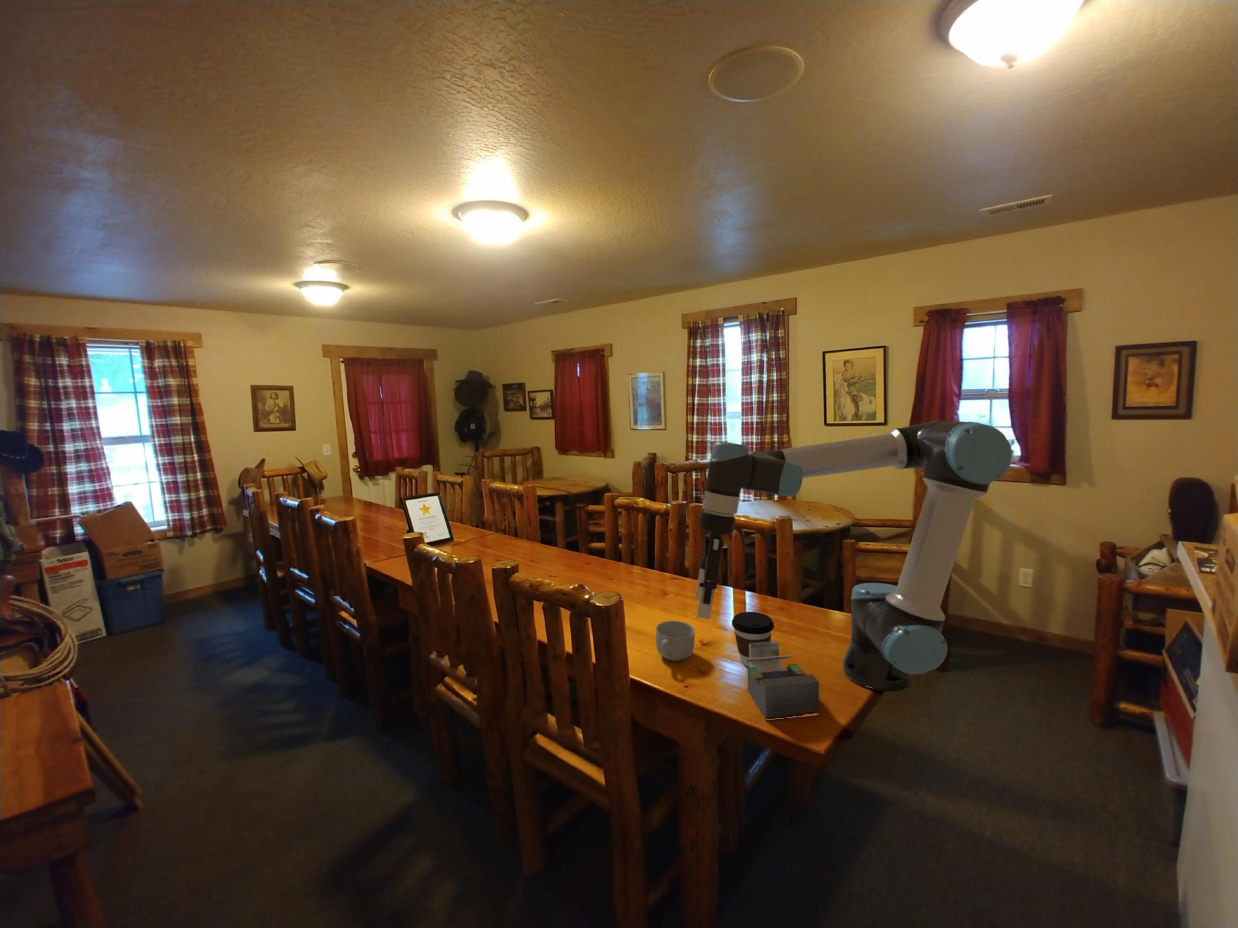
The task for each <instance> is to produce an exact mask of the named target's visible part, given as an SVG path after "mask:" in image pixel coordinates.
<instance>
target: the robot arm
mask: <svg viewBox="0 0 1238 928" xmlns="http://www.w3.org/2000/svg"><path fill="white" fill-rule="evenodd" d="M1012 459H1013V451H1012V447H1011V444H1010V442H1009V440H1008V439H1007V437H1006V436H1005V434H1004V433H1003V432H1002V431H1001V430H1000V429H998V428H996V427H994V426H992V425H990V424H989V425H988V424H985V423H980V422H976V421H957V420H947V419H946V420H945V419H943V420H942V419H941V420H934V421H929V422H923V423H920V424H914V425H910V426H904V427H898V428H892V429H890V431H888V432H887V434H879V435H875V436H874V435H873V436H866V437H858V438H853V439H851V438H850V439H845V440H839V441H831V442H824V443H823V442H822V443H817V444H809V445H804V446H795V447H788V448H781V449H776V450H774V449H773V450H767V451H764V450H755V451H752V452H750V453H749V448H748V445H745V444H739V443H734V442H727V441H720V440H719V441H716V442H714V444H713V446H712V450H711V455H710V459H709V463H708V468H707V469H708V470H707V476H706V481H705V488H704V494H701V495H700V498H701V499H702V506H701V508H702V509H703V510H702V511H700V516H699V522H698V527H699V528H700V529H702V530H705V531H706V535H704V537H703V549H702V555H701V559H700V569H699V574H698V579H697V584H696V590H695V597H696V598H698V599H699V601H698V606H697V611H696V618H700V619H705V620H709V621H710V620H711V613H712V607H713V603H714V597H715V591H716V589H717V588H718V580H719V579H718V577H719V570H720V561H721V557H722V550H723V547H724V541H723V538H722V534H724V535H731V534H733V533H734V530H735V523H736V519H737V518H736V517H735V515H737V513H738V511H739V510H738V509H739V504H740V499H741V491H742V490H747V491H755V492H759V493H766V494H770V495H777V496H778V497H791V498H793V497H796V495H797V494H799V492H800V490H801V487H802V483H803V479H806V478H813V477H820V476H822V477H823V476H829V475H835V474H836V475H837V474H843V473H849V472H859V471H865V470H874V469H881V468H888V467H893V468H894V469H896V470H904V469H906V470H907V469H921V470H924V473H923V475H922V480H923V482H924V483H925V485H926V487H927V490H926V492H925V493H926V494H925V497H924V500H923V503H922V506H921V510H920V512H919V515H918V518H917V519H918V520H917V522H916V524H915V525H916V526H915V528H914V532H913V535H912V539H911V540H910V541H911V542H910V543H909V544H910V545H909V547H908V551H907V555H906V557H905V560H904V564H903V567H902V569H901V573H900V577H899V579H898V582H897V583H898V584H897V585H893V584H888V583H879V582H864V583H859V584H856V585H855V586H854V587H853V588H852V591H851V592H852V593H851V597H850V600H851V614H850V615H851V616H850V617H851V623H850V625H851V626H850V627H851V629H850V631H851V633H850V634H851V635H850V643H849V645H848V648H847V650H846V653H845V656H844V658H843V660H842V661H843V664H842V671H843V670H844V671H843V673H844V672H845V673H844V675H845V674H846V675H847V676H848V677H850V678H851V679H852V680H854V681H856V682H857V683H859V684H861V685H863V686H869V687H872V688H874V689H875V690H874V691H879V692H889V693H890V692H901V691H904V690H906V689H907V688H908V687H910V686H911V683H912V675H923V674H927V673H929V671H934V670H935V669H937V668H938V667H940V666H941V664H943V662H944V661H945V659H946V657H947V654H948V644H947V641H946V639H945V636H943V635H944V634H942V630H943V627H944V624H945V623H944V622H945V621H946V616H945V614H944V612H943V611H942V609H941V605H942V601H943V599H944V595H945V592H946V591H947V590H946V589H947V586H948V583H949V580H950V577H951V574H952V571H953V568H954V565H955V562H956V560H957V556H958V553H959V550H960V547H961V543H962V541H963V537H964V534H965V532H966V529H967V527H968V526H967V525H968V521H969V519H970V516H971V512H972V510H973V507H974V504H975V502H976V500H977V499H978V498H981V497H982V496H985V495H987V493H988V490H989V488H990V485H991V483H993V482H995V481H997V480H998V479H999V478H1001V477H1003V476H1004V475H1005V474H1006V473H1007V472H1008V470H1009V469H1010V466H1011V463H1012ZM846 675H845V676H846ZM847 676H846V677H847ZM848 677H847V678H848ZM852 680H851V681H852ZM859 684H858V685H859ZM861 685H860V686H861ZM863 686H862V687H863Z"/></svg>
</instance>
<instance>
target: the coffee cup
mask: <svg viewBox="0 0 1238 928" xmlns="http://www.w3.org/2000/svg"><path fill="white" fill-rule="evenodd" d="M731 626H732V627H733V628H734V635H735V640H736V641H735V642H736V647H737V652H738V653H739V660H740V662H741V664H742V665H743V664H744V665H743V666H745V665H746V666H745V667H747V666H748V667H747V668H749V662H747V661H746V659H749V643H757V642H768V641H771V638H772V631H774V629H775V624H774V621H773V619H772V617H770V616H769V615H767V614H764V613H762V612H757V611H744V612H739V613H736V614H735V615H734V617H733V619H732V620H731Z"/></svg>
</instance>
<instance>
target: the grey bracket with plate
mask: <svg viewBox="0 0 1238 928" xmlns="http://www.w3.org/2000/svg"><path fill="white" fill-rule="evenodd" d="M784 659H792V656H791V654H785V655H780V642H779V641H778V640H770V641H768V642H757V643H749V659H746V661H747V662H749V667H748V668H754V667H756V668H757V669H758V670H759V672H760V673H761V675H762V676H763V679H771V678H781V677H788V668H786V666H785V665H784V664H783V662H781V660H784Z"/></svg>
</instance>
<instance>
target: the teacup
mask: <svg viewBox="0 0 1238 928" xmlns="http://www.w3.org/2000/svg"><path fill="white" fill-rule="evenodd" d="M695 634H696V629H695V627H694V626H693V625H692V624H689V623H687V622H684V621H680V620H667V621H663V622H660V623H659V624H657V625H656V627H655V645H656V650H657V652H658V653H659V654H660V655H661V657H663V658H664V659H666V660H667V661H668V660H669V661H672V662H680V661H684V660H686V659H688V658H689V657H690V656H691V655H692V654H693V652H694V650H695V649H694V648H695Z"/></svg>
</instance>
